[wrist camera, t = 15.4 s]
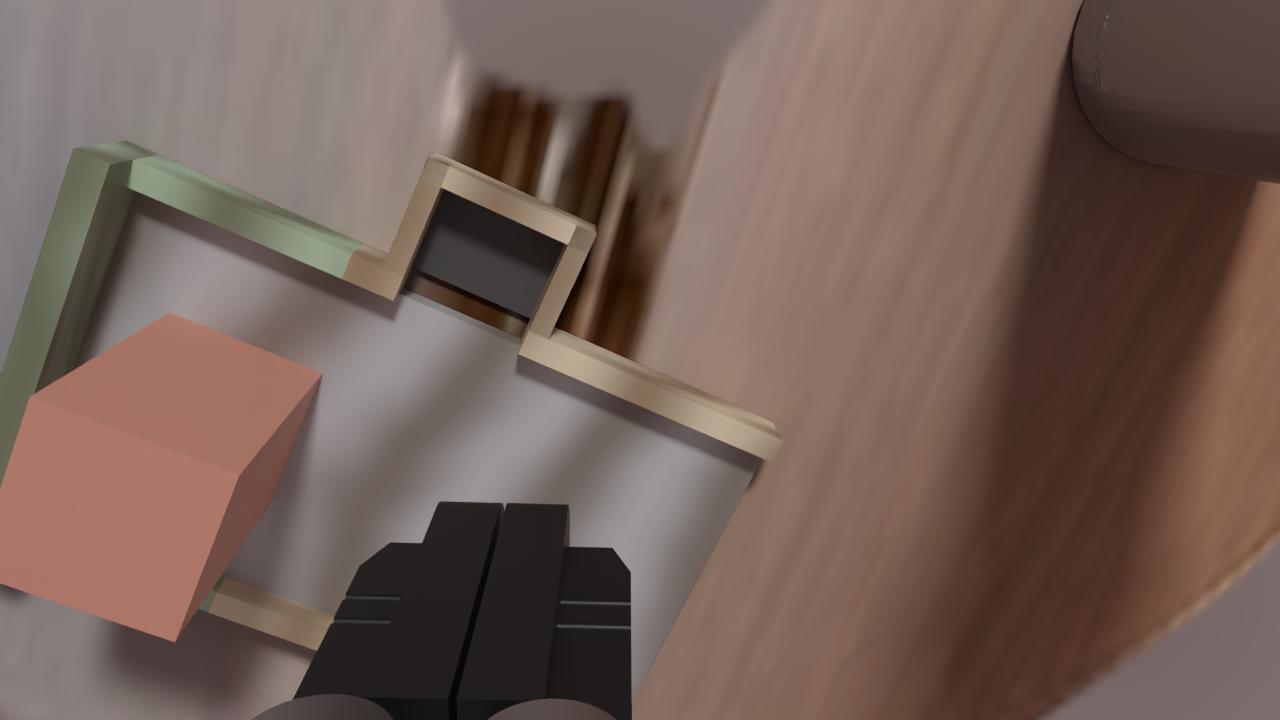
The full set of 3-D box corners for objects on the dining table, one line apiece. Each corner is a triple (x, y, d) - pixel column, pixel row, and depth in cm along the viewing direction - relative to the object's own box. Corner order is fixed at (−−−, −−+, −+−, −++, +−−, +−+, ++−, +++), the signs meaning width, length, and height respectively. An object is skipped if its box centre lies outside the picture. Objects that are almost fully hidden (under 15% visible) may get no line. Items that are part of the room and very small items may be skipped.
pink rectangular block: (322, 373, 38) (239, 475, 28) (270, 503, 39) (175, 642, 30) (169, 312, 37) (29, 396, 27) (122, 448, 38) (-28, 573, 29)
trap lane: (821, 329, 40) (848, 357, 36) (572, 797, 46) (572, 864, 42) (163, 26, 35) (113, 21, 31) (-25, 594, 41) (-87, 648, 37)
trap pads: (573, 198, 38) (573, 199, 37) (502, 751, 45) (502, 756, 44) (420, 176, 37) (418, 177, 37) (372, 741, 44) (371, 746, 44)
